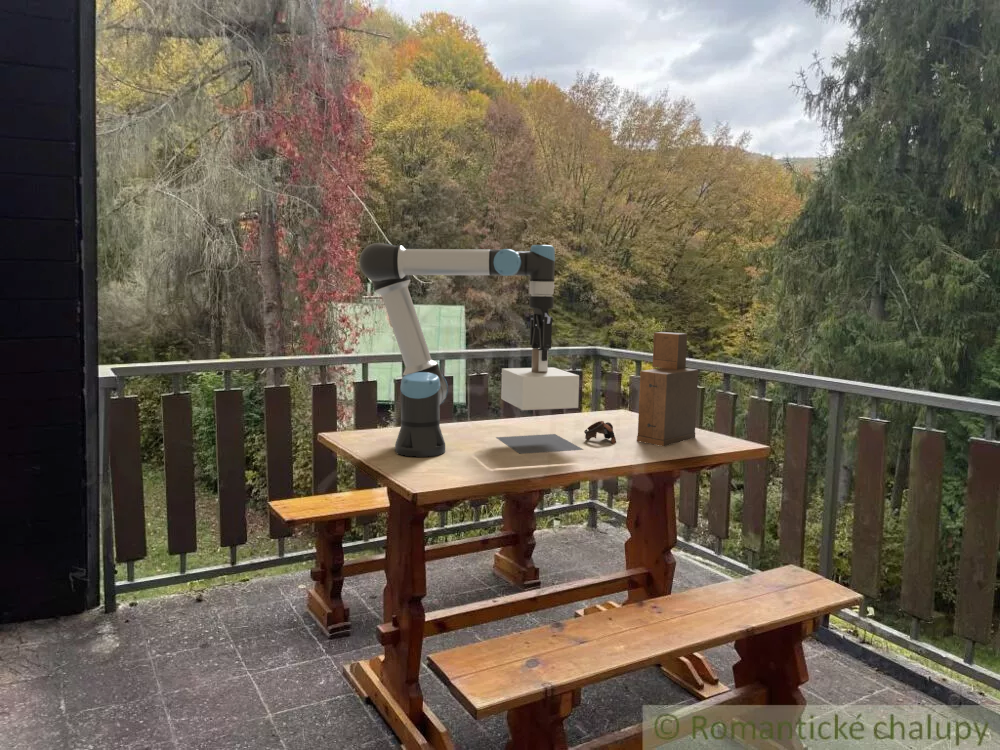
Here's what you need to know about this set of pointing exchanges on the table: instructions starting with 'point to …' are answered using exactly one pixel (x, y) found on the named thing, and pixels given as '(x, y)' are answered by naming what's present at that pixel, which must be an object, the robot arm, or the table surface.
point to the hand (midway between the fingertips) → (539, 369)
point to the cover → (539, 387)
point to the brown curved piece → (600, 431)
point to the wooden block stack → (668, 393)
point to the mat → (538, 443)
